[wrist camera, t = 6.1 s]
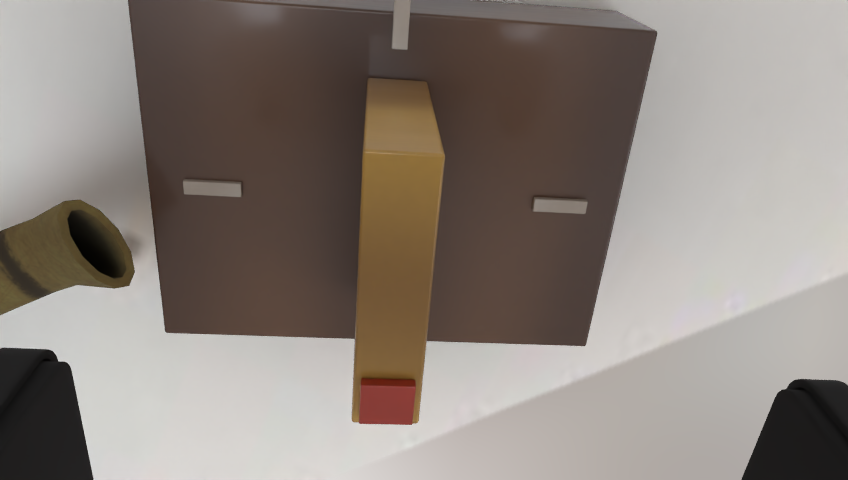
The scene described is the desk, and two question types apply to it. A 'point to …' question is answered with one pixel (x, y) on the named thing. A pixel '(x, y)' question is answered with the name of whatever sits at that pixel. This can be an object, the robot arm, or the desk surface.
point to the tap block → (343, 152)
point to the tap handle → (395, 250)
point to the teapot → (61, 254)
